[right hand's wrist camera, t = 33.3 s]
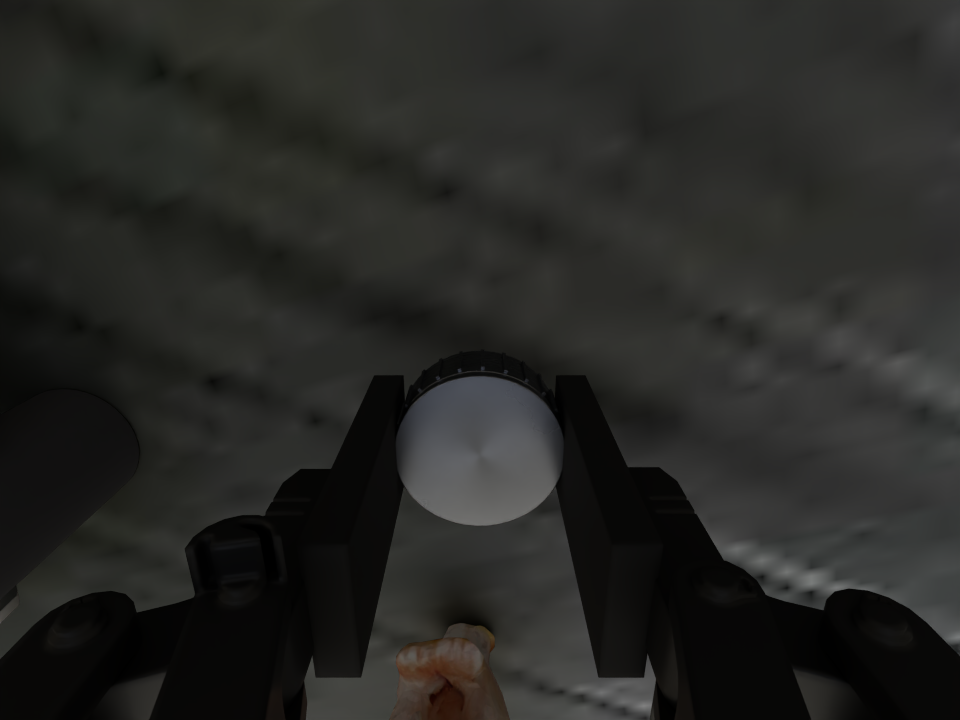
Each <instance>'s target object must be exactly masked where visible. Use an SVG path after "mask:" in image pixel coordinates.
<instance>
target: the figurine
mask: <svg viewBox="0 0 960 720" xmlns="http://www.w3.org/2000/svg"><path fill="white" fill-rule="evenodd" d="M494 647H495V638H494V636H493V635H492V634H491V633H490V632H489V631H488V630H487V629H486V628H485V627H483V626H481V625H480V626H474V625H469V624H465V623H458V624H454V625H451V626H449V628H448V629H447V631H446V634H445V635H444V637H443V638H442V639H436V640H431V641H425V642H415V643H409V644H408V645H406V646H405V647H403V648H402V649H401V650H400V652H399V653H398V655H397V658H396V665H397V667H398V670H399V674H400V678H399V684H398V690H397V696H398V701H397V703H396V706H395V708H394V710H393V712H392V714H391V717H390V719H389V720H510V718H509V715H508V712H507V708H506V705H505V701H504V698H503V695H502V692H501V690H500V688H499V686H498V683H497V681H496V679H495V677H494V675H493V673H492V671H491V669H490V667H489V654H490V652H491V651H492V649H493V648H494Z"/></svg>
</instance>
